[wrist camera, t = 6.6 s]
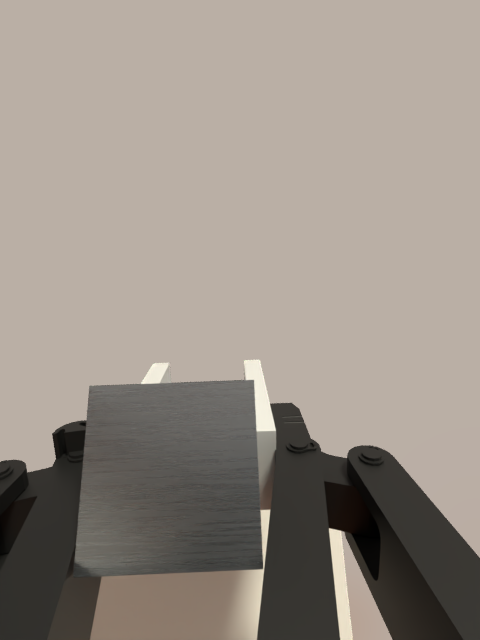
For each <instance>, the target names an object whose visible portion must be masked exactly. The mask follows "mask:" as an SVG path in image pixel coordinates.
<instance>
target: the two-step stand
mask: <svg viewBox="0 0 480 640" xmlns="http://www.w3.org/2000/svg"><path fill="white" fill-rule="evenodd" d="M260 512H261V532H262V552H263V569H258V570H236V571H213V572H191V573H169V574H147V575H125V576H103V577H102V578H101V583H100V588H99V594H98V599H97V604H96V610H95V615H94V620H93V626H92V631H91V636H90V640H257V633H258V624H259V614H260V604H261V595H262V585H263V576H264V566H265V557H266V547H267V538H268V528H269V519H270V510H260ZM329 535H330V545H331V555H332V564H333V574H334V584H335V594H336V603H337V613H338V623H339V633H340V640H353V637H352V629H351V618H350V610H349V600H348V591H347V583H346V572H345V563H344V554H343V545H342V535H341V531H339V530H335V529H330V528H329Z"/></svg>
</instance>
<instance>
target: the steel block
mask: <svg viewBox="0 0 480 640" xmlns="http://www.w3.org/2000/svg"><path fill="white" fill-rule="evenodd" d="M258 569H263V552H262V532H261V512H260V491H259V471H258V451H257V430H256V410H255V390H254V380H234V381H209V382H184V383H183V382H181V383H154V384H130V385H129V384H127V385H101V386H90V387H89V398H88V410H87V422H86V433H85V445H84V457H83V469H82V480H81V492H80V504H79V515H78V527H77V539H76V551H75V562H74V574H73V578H81V577H103V576H125V575H147V574H169V573H191V572H213V571H236V570H258Z"/></svg>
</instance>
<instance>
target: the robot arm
mask: <svg viewBox="0 0 480 640" xmlns="http://www.w3.org/2000/svg"><path fill="white" fill-rule="evenodd" d="M244 380H254V390H255V410H256V430H257V451H258V471H259V491H260V510H270V519H269V528H268V538H267V547H266V557H265V566H264V576H263V585H262V595H261V604H260V614H259V624H258V633H257V640H340V633H339V623H338V613H337V603H336V594H335V584H334V574H333V564H332V555H331V545H330V535H329V528H330V529H335V530H339V531H344V532H345V536H346V539H347V541H348V543H349V545H350V548H351V550H352V552H353V554H354V556H355V559H356V561H357V563H358V565H359V567H360V569H361V571H362V574H363V576H364V578H365V580H366V582H367V584H368V587H369V589H370V591H371V593H372V595H373V598H374V600H375V602H376V604H377V606H378V609H379V611H380V613H381V615H382V617H383V620H384V622H385V624H386V626H387V628H388V630H389V633H390V635H391V637H392V639H393V640H480V558H479V557H478V556H477V554H476V553H475V552H474V551H473V549H472V548H471V547H470V546H469V545H468V544H467V542H466V541H465V540H464V539H463V538H462V537H461V535H460V534H459V533H458V532H457V531H456V529H455V528H454V527H453V526H452V525H451V524H450V522H449V521H448V520H447V519H446V518H445V517H444V515H443V514H442V513H441V512H440V511H439V509H438V508H437V507H436V506H435V505H434V504H433V502H432V501H431V500H430V499H429V498H428V497H427V495H426V494H425V493H424V492H423V491H422V490H421V488H420V487H419V486H418V485H417V484H416V482H415V481H414V480H413V479H412V478H411V477H410V475H409V474H408V473H407V472H406V471H405V469H404V468H403V467H402V466H401V465H400V464H399V462H398V461H397V460H396V459H395V458H394V457H393V456H392V455H391V454H390V453H389V452H387V451H385V450H383V449H381V448H378V447H374V446H357V447H354V448H352V449H351V450H349V452H348V456H347V458H342V457H336V456H332V455H328V454H326V453H323V452H321V448H320V446H319V444H318V443H317V442H315V441H314V440H312V439H311V438H310V435H309V433H308V430H307V428H306V425H305V423H304V420H303V418H302V415H301V413H300V410H299V408H297V407H296V406H295V405H293V404H292V403H277V404H270V403H269V398H268V393H267V389H266V385H265V381H264V376H263V372H262V367H261V363H260V360H244ZM154 383H171V374H170V363H154V364H153V365H152V367H151V368H150V370H149V372H148V373H147V375H146V376H145V378H144V379H143V381H142V383H141V384H154ZM86 422H87V421H77V422H72V423H69V424H66V425H64V426H62V427H60V428H58V429H57V430H56V431H55V432H54V433H53V434H52V435H53V441H54V448H55V455H56V460H55V462H54V464H53V466H52V467H50V468H46V469H42V470H38V471H33V472H28V473H27V469H26V464H25V463H24V462H23V461H19V460H8V461H7V460H6V461H1V462H0V640H90V636H91V631H92V626H93V620H94V615H95V610H96V604H97V599H98V594H99V588H100V583H101V578H102V577H81V578H73V574H74V562H75V551H76V539H77V527H78V515H79V504H80V492H81V480H82V469H83V457H84V445H85V433H86Z"/></svg>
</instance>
